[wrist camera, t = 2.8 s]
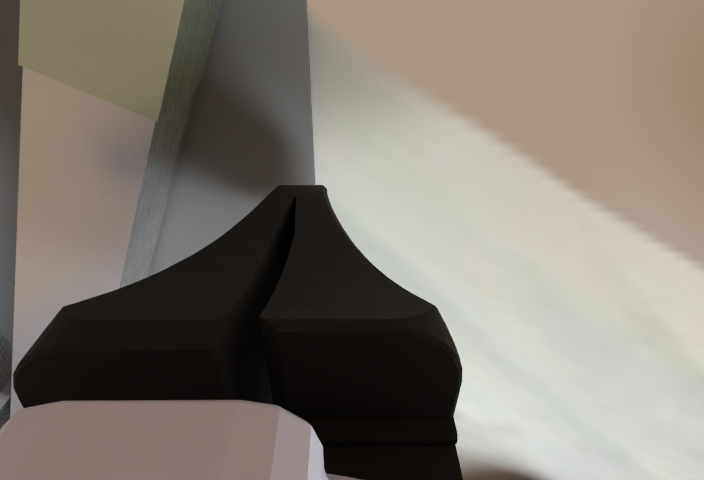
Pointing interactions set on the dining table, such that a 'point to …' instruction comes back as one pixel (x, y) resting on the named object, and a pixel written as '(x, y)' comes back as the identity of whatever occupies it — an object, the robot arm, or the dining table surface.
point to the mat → (197, 133)
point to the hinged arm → (97, 146)
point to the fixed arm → (5, 361)
